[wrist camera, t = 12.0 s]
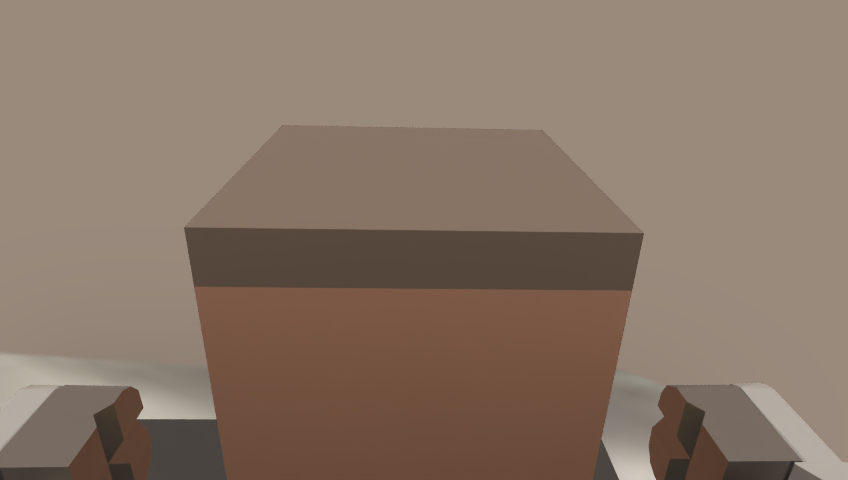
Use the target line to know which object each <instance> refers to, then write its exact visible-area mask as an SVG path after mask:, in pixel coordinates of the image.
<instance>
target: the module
mask: <svg viewBox="0 0 848 480" xmlns="http://www.w3.org/2000/svg"><path fill="white" fill-rule="evenodd" d="M184 229H185V235H186V241H187V246H188V253H189V258H190V264H191V270H192V276H193V282H194V288H195V294H196V300H197V306H198V312H199V317H200V322H201V329H202V335H203V341H204V347H205V352H206V358H207V365H208V371H209V376H210V382H211V388H212V394H213V400H214V406H215V412H216V418H217V424H218V429H219V435H220V441H221V447H222V453H223V459H224V465H225V471H226V477H227V480H593V476H594V471H595V466H596V461H597V457H598V452H599V447H600V442H601V437H602V433H603V428H604V423H605V418H606V413H607V408H608V404H609V399H610V394H611V389H612V384H613V380H614V375H615V370H616V365H617V360H618V355H619V350H620V346H621V341H622V336H623V331H624V327H625V322H626V317H627V312H628V307H629V302H630V297H631V293H632V288H633V283H634V278H635V273H636V268H637V264H638V259H639V254H640V249H641V245H642V240H643V235H644V233H643V232H642V231H641V230H640V229H639V228H638V227H637V226H636V225H635V224H634V222H633V221H631V219H630V218H628V216H627V215H625V213H624V212H623V211H622V210H621V209H620V208H619V207H618V206H617V205H616V204H615V203H614V202H613V201H612V200H611V199H610V198H609V197H608V196H607V195H606V194H605V193H604V192H603V191H602V190H601V189H600V188H599V187H598V186H597V185H596V184H595V183H594V182H593V181H592V180H591V179H590V178H589V177H588V176H587V175H586V174H585V173H584V172H583V171H582V170H581V169H580V168H579V167H578V166H577V165H576V164H575V163H574V162H573V161H572V160H571V159H570V158H569V156H567V154H566V153H565V152H564V151H563V150H561V148H560V147H559V146H558V145H556V143H555V142H554V141H553V140H552V139H551V138H550V137H549V136H548V135H547V134H546V133H545V132H544V131H543V130H511V129H510V130H509V129H505V130H504V129H458V128H457V129H456V128H405V127H404V128H403V127H351V126H298V125H282V126H281V127H280V129H279V130H278V131H277V132H276V133H275V134H274V135H273V136H272V137H271V138H270V139H269V140H268V141H267V142H266V143H265V144H264V145H263V146H262V147H261V148H260V149H259V150H258V151H257V152H256V153H255V154H254V156H252V158H251V159H250V160H249V161H248V162H247V163H246V164H245V165H244V166H243V167H242V168H241V169H240V170H239V171H238V172H237V173H236V174H235V175H234V176H233V177H232V178H231V179H230V180H229V181H228V182H227V183H226V185H225V186H224V187H223V188H222V189H221V190H220V191H219V192H218V193H217V194H216V195H215V196H214V197H213V198H212V199H211V200H210V201H209V202H208V203H207V204H206V205H205V206H204V208H202V209H201V210H200V211H199V213H198V214H197V215H196V216H195V217H194V218H193V219H192V220H191V221H190V222H189V223H188V224H187V225H186V226H185V227H184Z"/></svg>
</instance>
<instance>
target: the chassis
mask: <svg viewBox="0 0 848 480" xmlns="http://www.w3.org/2000/svg"><path fill="white" fill-rule="evenodd" d="M136 420H137V421H139V422H140V423H141V424H142V425H143V426H144V427H145V428H147V429H148V430H149V434H150V438H151V443H152V459H151V463H150V467H149V471H148V475H147V479H146V480H227V477H226V471H225V465H224V459H223V453H222V447H221V441H220V435H219V429H218V424H217V420H185V419H136ZM593 480H619V479H618V477H617V474H616V472H615V470H614V467H613V465H612V463H611V460H610V458H609V456H608V454H607V451H606V449H605V447H604V444H603V442H602V440H601V442H600V447H599V452H598V457H597V461H596V466H595V471H594V476H593Z"/></svg>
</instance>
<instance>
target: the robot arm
mask: <svg viewBox="0 0 848 480" xmlns="http://www.w3.org/2000/svg"><path fill="white" fill-rule="evenodd" d="M658 406H659V408H660V410H661V411H662V413H663V415H664V416H665V417H663V418H662V419H661V420H660V421H659V422H658V423H657V424H656V425H655V426H653V427H652V432H651V436H650V441H649V452H650V463H651V466H652V469H653V473H654V476H655V478H656V480H848V462H842V461H841V460H840V459H839V458H838V457H837V456H836V455H835V454H834V453H833V452H832V451H831V450H830V448H828V447H827V446H826V444H825V443H824V442H823V441H822V440H821V439H820V438H819V437H818V436H817V435H816V434H815V433H814V432H813V431H812V430H811V428H810V427H809V426H808V425H807V424H806V423H805V422H804V421H803V420H802V419H801V418H800V417H799V416H798V415H797V413H796V412H795V411H794V410H793V409H792V408H791V407H790V406H789V405H788V404H787V403H786V402H785V401H784V400H783V399H782V398H781V397H780V396H779V394H778V393H777V392H776V391H775V390H774V389H773V388H771V387H770V386H767V385H765V384H763V383H746V384H730V385H667V386H666V387H665V389H664V390H663V391H662V393H661V396H660V400H659V404H658ZM142 409H143V405H142V401H141V398H140V394H139V391H138V390H137V389H135V388H133V387H131V386H84V385H64V386H59V385H30V386H27V387H25V388H22V389H20V390H19V391H18V392H17V393H16V394H15V395H14V396H13V397H12V398H11V399H10V400H9V401H8V402H7V403H6V404H5V405H4V406H3V407H2V408H1V409H0V480H146V479H147V475H148V471H149V467H150V463H151V459H152V443H151V438H150V434H149V430H148V429H147V428H145V427H144V426H143V425H142V424H141V423H140V422H139V421H137V420H136V419H137V417H138V416H139V414H140V412H141V411H142Z"/></svg>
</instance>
